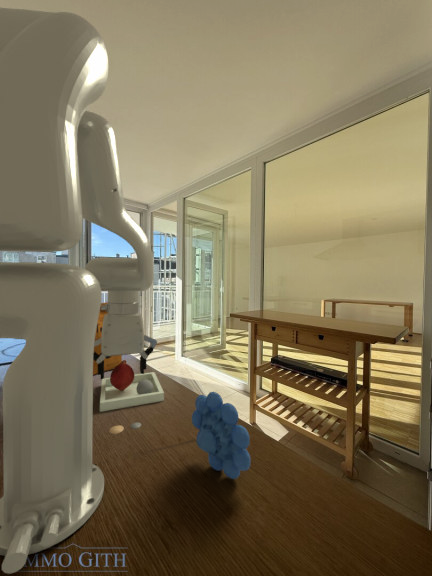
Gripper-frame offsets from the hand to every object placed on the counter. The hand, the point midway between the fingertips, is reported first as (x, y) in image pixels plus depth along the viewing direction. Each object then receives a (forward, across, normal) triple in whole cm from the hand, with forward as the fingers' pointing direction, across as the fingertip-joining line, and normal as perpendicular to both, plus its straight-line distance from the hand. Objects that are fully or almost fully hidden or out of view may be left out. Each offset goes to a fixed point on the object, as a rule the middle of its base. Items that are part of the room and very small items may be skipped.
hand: (122, 374), depth 63 cm
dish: (+5, +2, -2) cm, 6 cm away
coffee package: (+5, -6, +19) cm, 21 cm away
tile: (+5, 0, -17) cm, 18 cm away
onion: (+4, 0, 0) cm, 4 cm away
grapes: (+5, +12, -33) cm, 35 cm away
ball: (+4, +5, -5) cm, 8 cm away
